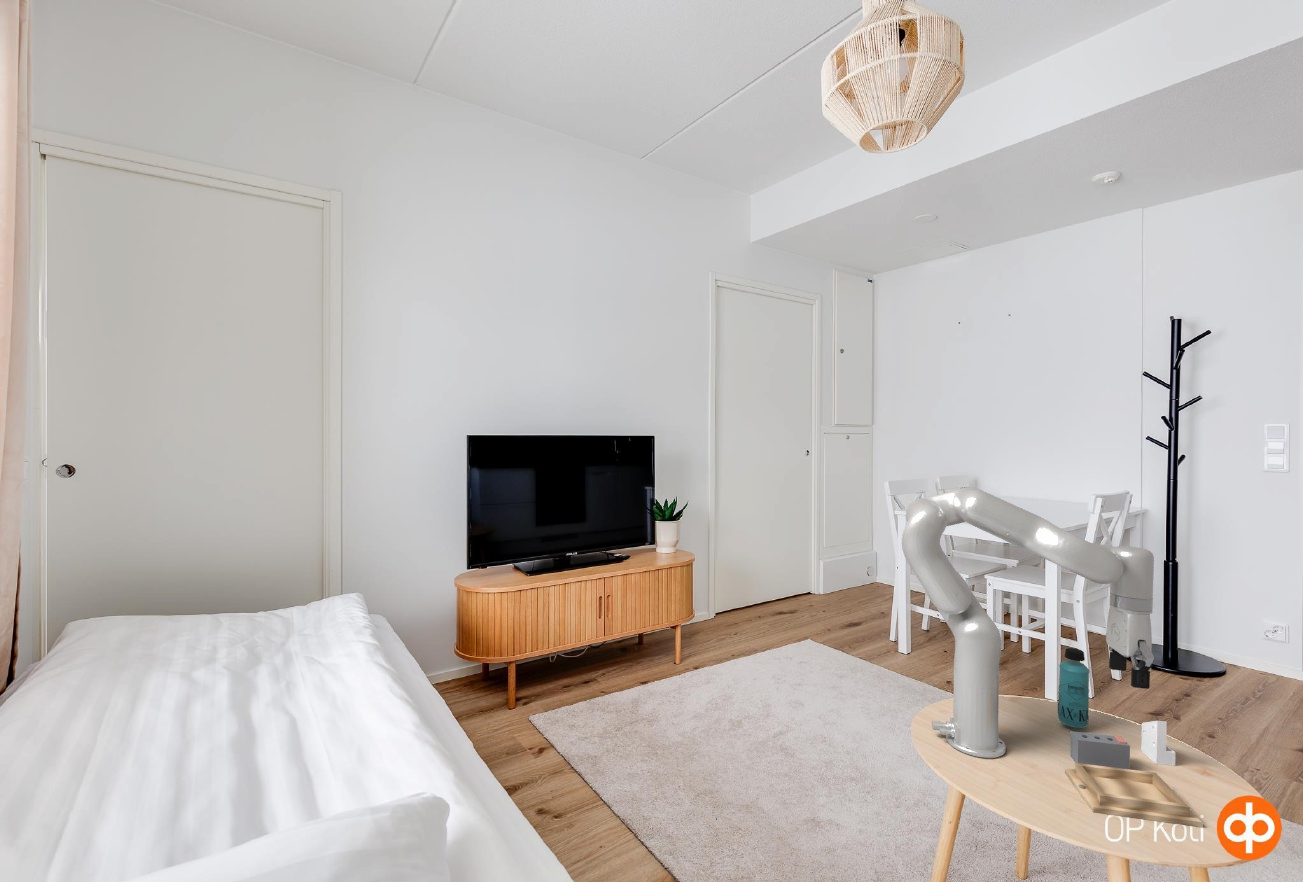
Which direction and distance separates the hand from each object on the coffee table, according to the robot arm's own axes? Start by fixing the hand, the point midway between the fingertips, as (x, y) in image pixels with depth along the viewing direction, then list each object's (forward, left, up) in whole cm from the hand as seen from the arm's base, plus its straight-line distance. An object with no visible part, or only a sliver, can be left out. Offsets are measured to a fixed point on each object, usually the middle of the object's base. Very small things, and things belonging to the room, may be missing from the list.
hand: (1128, 678), depth 135 cm
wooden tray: (-6, -14, -20) cm, 25 cm away
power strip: (-6, -1, -20) cm, 21 cm away
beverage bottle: (-5, +16, -20) cm, 26 cm away
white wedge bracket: (+8, +5, -20) cm, 23 cm away
